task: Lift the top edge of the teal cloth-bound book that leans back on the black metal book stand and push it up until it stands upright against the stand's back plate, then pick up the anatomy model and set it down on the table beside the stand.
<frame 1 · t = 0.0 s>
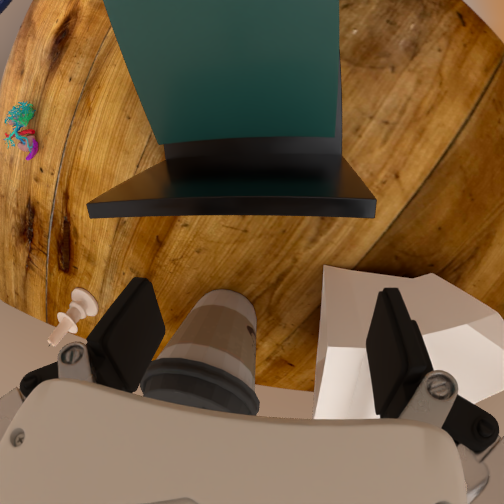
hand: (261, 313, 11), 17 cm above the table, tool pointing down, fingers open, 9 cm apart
book stand: (248, 106, 23), on the table
folded paper: (406, 309, 31), on the table
anatomy model: (29, 128, 26), on the table
book: (222, 10, 13), point 7 cm above the table, hinge at 30.0°
coffee cup: (227, 311, 35), on the table
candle: (86, 300, 39), on the table
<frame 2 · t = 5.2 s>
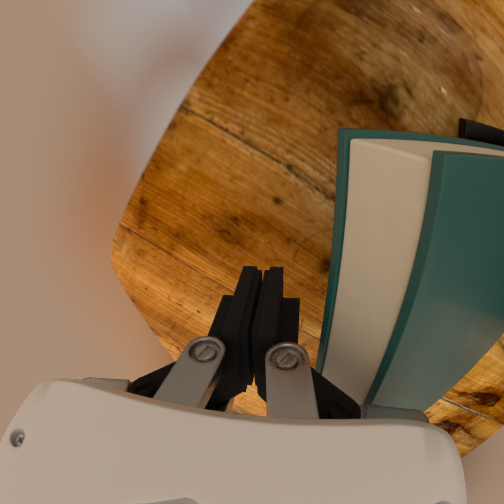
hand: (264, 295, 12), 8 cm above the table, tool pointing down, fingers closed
book stand: (499, 230, 17), on the table
book: (484, 285, 11), point 8 cm above the table, hinge at 30.4°, touching gripper
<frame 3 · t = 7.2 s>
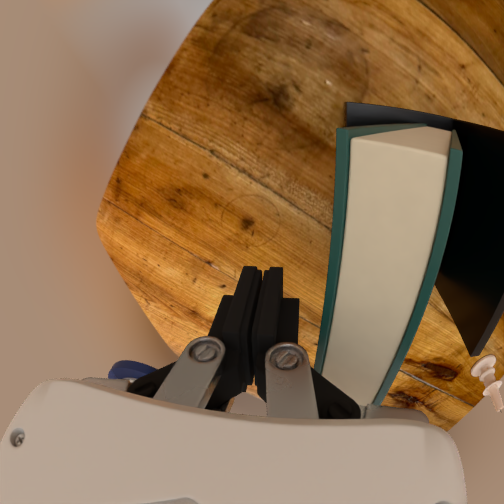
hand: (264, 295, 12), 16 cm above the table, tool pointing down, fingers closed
book stand: (402, 193, 24), on the table
book: (414, 246, 15), point 11 cm above the table, hinge at 59.7°, touching gripper
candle: (482, 363, 33), on the table
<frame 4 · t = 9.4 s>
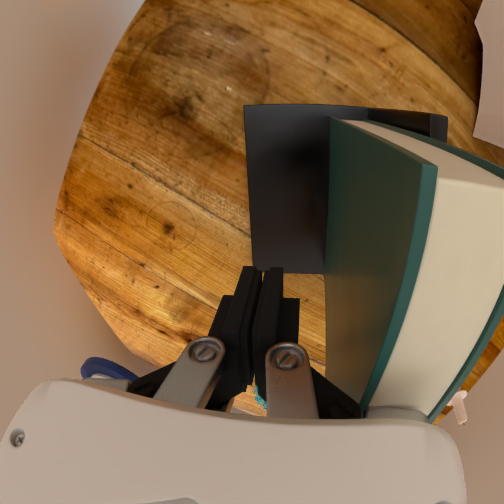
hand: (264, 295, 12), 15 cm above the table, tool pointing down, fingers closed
book stand: (316, 192, 25), on the table
book: (363, 255, 15), point 11 cm above the table, hinge at 87.8°, touching gripper
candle: (447, 371, 35), on the table
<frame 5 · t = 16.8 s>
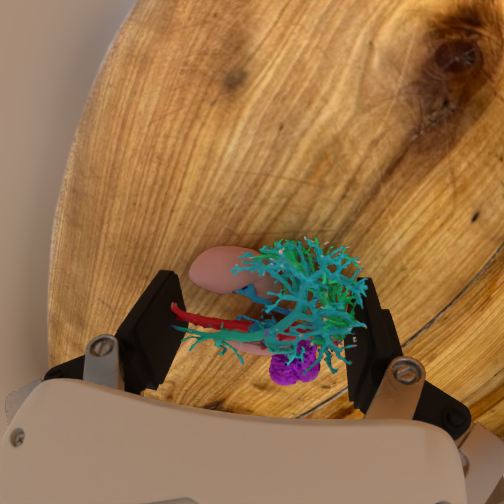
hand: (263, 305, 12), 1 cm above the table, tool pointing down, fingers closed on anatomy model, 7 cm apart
anatomy model: (264, 289, 13), on the table, touching gripper
coffee cup: (463, 451, 21), on the table
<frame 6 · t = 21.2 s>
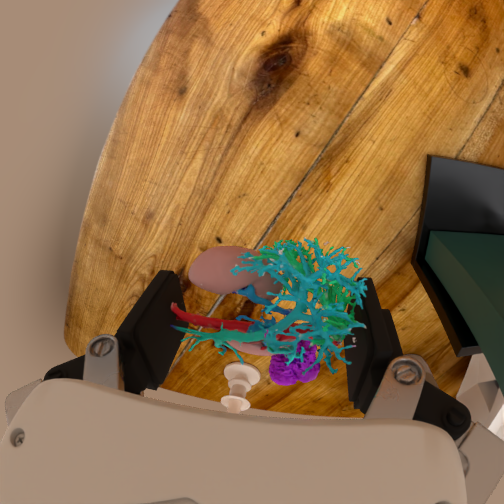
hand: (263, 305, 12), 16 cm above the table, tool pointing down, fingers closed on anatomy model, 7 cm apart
book stand: (480, 220, 23), on the table
anatomy model: (264, 289, 13), point 15 cm above the table, touching gripper
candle: (242, 371, 39), on the table
when the fingers open (1 cm above the table, at t = 25.4 s): anatomy model stays where it is, on the table.
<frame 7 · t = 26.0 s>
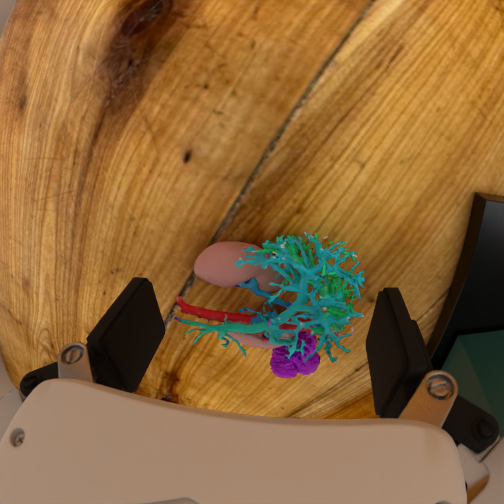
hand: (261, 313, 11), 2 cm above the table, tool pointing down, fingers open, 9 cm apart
anatomy model: (266, 283, 13), on the table
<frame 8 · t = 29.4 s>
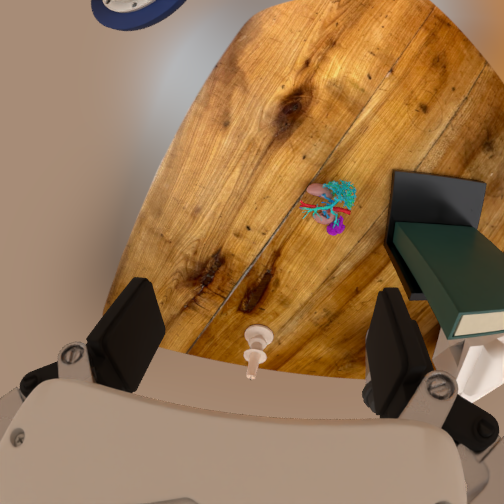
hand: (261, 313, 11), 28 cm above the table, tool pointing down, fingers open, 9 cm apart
book stand: (436, 214, 35), on the table
folded paper: (477, 322, 43), on the table
anatomy model: (325, 200, 37), on the table
book: (467, 268, 26), point 11 cm above the table, hinge at 87.8°
coffee cup: (384, 332, 47), on the table
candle: (259, 333, 51), on the table
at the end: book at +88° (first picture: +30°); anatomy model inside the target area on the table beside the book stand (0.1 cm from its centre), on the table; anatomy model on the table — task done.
